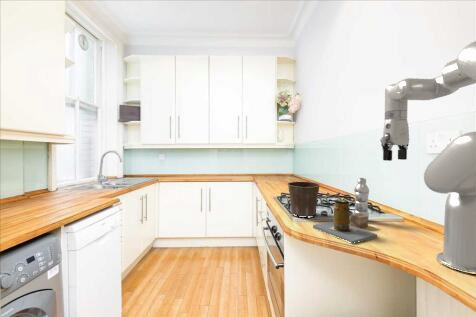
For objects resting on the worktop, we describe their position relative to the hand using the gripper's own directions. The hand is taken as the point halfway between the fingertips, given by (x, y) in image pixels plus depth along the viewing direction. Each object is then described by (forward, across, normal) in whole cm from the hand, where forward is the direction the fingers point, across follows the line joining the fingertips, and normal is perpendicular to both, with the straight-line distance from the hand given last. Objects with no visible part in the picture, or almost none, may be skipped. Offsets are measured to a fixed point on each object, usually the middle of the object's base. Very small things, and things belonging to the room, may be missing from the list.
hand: (395, 159), depth 98 cm
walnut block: (+30, -4, +13) cm, 33 cm away
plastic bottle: (+30, +4, +18) cm, 35 cm away
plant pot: (+30, -13, +38) cm, 50 cm away
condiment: (+29, -16, +11) cm, 35 cm away
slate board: (+30, -16, +11) cm, 36 cm away
